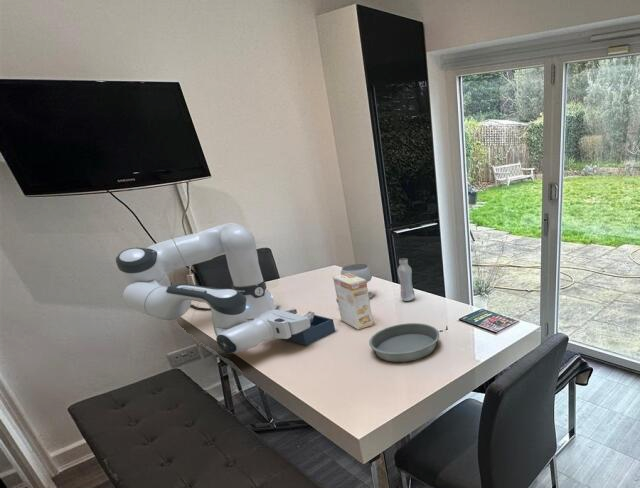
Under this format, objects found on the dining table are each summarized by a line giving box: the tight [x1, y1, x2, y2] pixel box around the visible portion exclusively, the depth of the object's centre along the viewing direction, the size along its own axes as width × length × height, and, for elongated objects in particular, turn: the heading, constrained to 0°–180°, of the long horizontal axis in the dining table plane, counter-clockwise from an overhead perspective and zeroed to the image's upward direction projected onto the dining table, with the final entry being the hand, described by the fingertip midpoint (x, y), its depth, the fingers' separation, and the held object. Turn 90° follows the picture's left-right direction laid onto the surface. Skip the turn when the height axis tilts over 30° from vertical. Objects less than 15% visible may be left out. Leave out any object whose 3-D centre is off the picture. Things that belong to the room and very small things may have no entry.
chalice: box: [340, 263, 374, 299], centre depth 195 cm, size 14×14×15 cm
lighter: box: [303, 311, 315, 331], centre depth 158 cm, size 7×2×8 cm, turn 153°
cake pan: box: [368, 322, 440, 363], centre depth 148 cm, size 25×25×4 cm
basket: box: [285, 314, 336, 346], centre depth 159 cm, size 14×14×5 cm
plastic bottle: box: [396, 257, 416, 302], centre depth 190 cm, size 6×7×20 cm
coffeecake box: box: [332, 273, 374, 330], centre depth 166 cm, size 15×7×20 cm, turn 47°
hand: (303, 312), depth 156 cm, fingers open, 8 cm apart
